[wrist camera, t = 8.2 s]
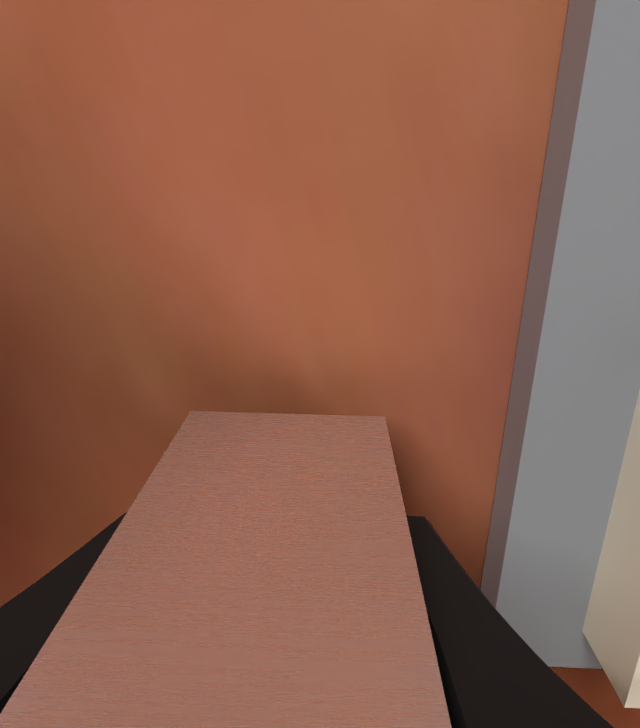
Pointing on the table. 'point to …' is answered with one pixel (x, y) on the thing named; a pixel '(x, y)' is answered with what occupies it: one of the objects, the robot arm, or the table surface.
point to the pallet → (579, 374)
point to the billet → (249, 591)
